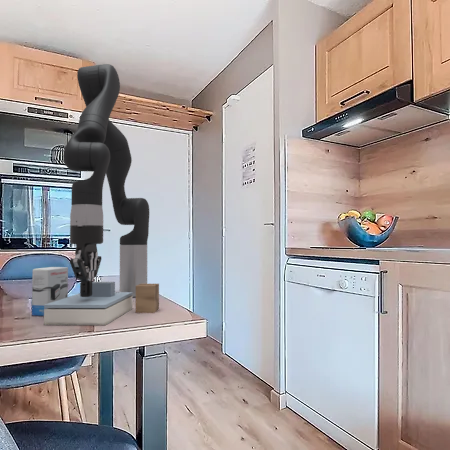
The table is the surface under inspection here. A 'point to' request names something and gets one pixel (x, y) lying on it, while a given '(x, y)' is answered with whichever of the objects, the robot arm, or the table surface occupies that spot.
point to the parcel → (147, 298)
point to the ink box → (48, 287)
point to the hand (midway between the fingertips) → (86, 296)
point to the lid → (92, 297)
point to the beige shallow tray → (87, 314)
